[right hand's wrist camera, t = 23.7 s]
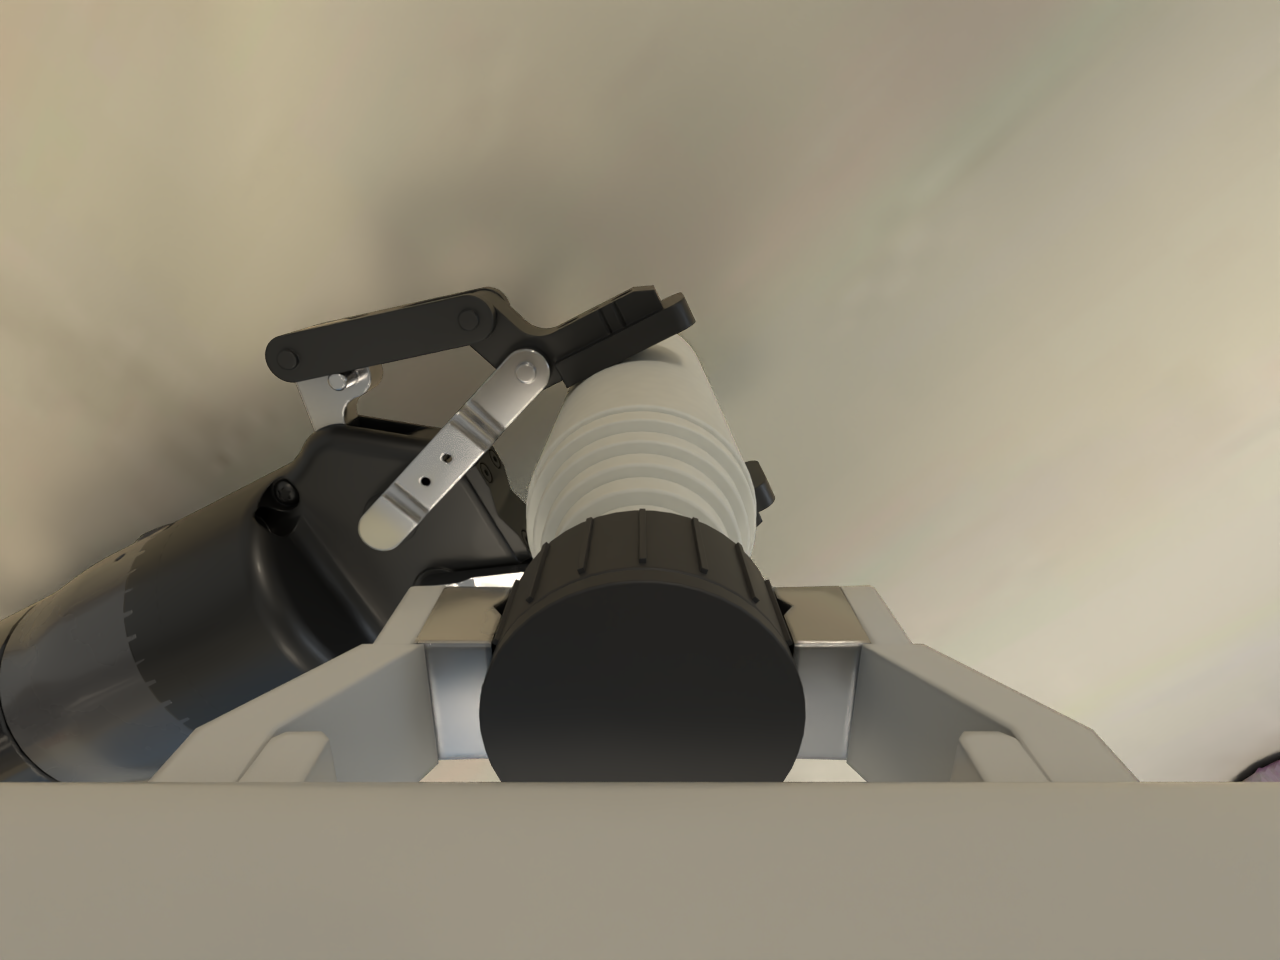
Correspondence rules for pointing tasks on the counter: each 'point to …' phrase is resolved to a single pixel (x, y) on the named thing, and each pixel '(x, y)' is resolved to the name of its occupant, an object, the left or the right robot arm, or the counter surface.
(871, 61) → the counter surface
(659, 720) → the cap
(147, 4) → the counter surface
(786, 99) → the counter surface
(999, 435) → the counter surface
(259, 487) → the left robot arm
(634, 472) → the bottle
